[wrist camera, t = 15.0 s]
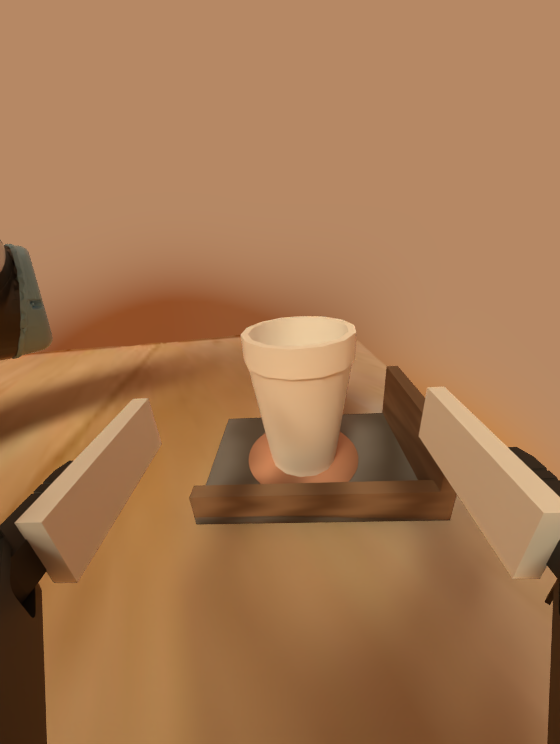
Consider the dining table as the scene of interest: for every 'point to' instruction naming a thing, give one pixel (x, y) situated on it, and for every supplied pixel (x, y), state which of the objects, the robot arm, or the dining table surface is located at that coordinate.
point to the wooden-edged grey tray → (332, 472)
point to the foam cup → (301, 387)
